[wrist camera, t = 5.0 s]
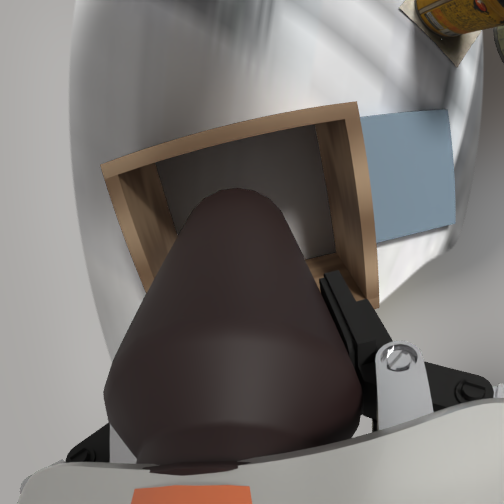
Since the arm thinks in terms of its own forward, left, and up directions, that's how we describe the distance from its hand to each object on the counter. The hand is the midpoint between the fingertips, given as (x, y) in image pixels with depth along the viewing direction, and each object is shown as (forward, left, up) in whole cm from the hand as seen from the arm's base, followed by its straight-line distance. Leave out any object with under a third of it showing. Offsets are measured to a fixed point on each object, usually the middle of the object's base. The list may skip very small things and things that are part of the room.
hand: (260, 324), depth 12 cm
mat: (+1, +16, -19) cm, 24 cm away
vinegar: (0, -1, -10) cm, 10 cm away
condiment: (-15, +24, -19) cm, 34 cm away
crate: (+1, 0, -19) cm, 19 cm away
